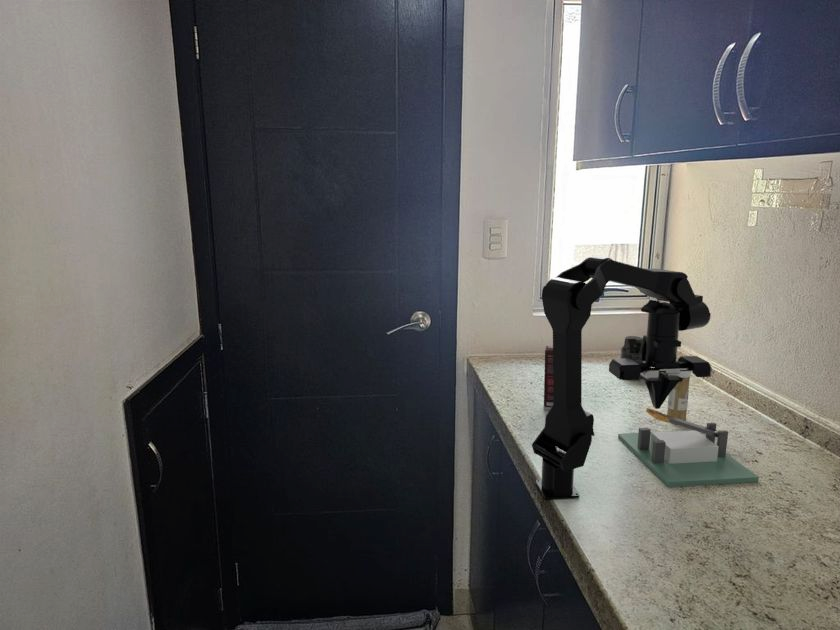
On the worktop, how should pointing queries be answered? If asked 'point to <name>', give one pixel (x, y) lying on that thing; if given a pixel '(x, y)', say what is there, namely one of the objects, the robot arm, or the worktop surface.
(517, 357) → the worktop surface
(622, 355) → the supplement bottle
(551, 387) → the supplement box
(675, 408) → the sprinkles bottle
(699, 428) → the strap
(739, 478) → the board
